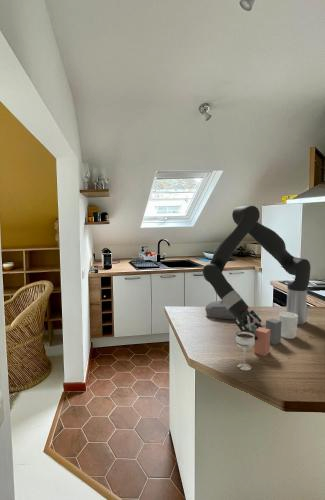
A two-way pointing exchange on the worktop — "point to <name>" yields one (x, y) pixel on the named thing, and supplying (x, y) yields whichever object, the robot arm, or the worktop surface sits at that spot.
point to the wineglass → (245, 345)
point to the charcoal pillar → (274, 330)
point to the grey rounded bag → (218, 310)
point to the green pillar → (254, 326)
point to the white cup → (288, 324)
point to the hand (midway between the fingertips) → (260, 337)
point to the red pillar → (262, 341)
